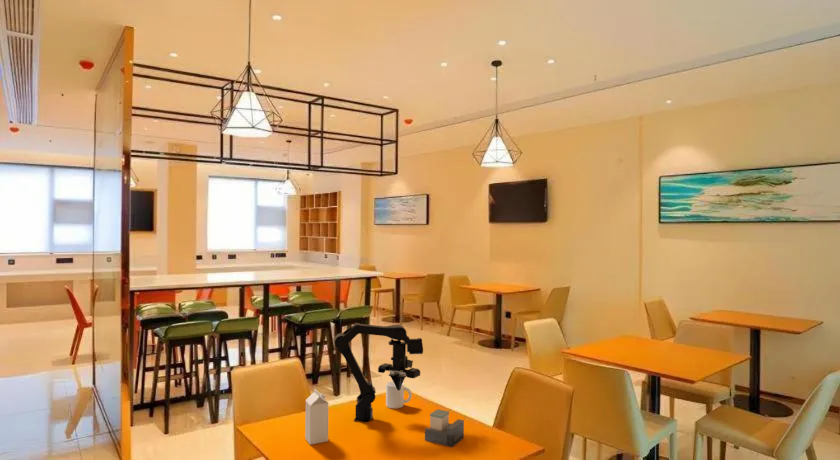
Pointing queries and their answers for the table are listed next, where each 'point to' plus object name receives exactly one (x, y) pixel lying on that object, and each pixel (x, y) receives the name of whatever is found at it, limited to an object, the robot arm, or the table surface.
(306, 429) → the milk carton
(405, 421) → the table surface
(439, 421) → the plunger key
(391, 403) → the mug
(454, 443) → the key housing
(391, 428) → the table surface
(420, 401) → the table surface
